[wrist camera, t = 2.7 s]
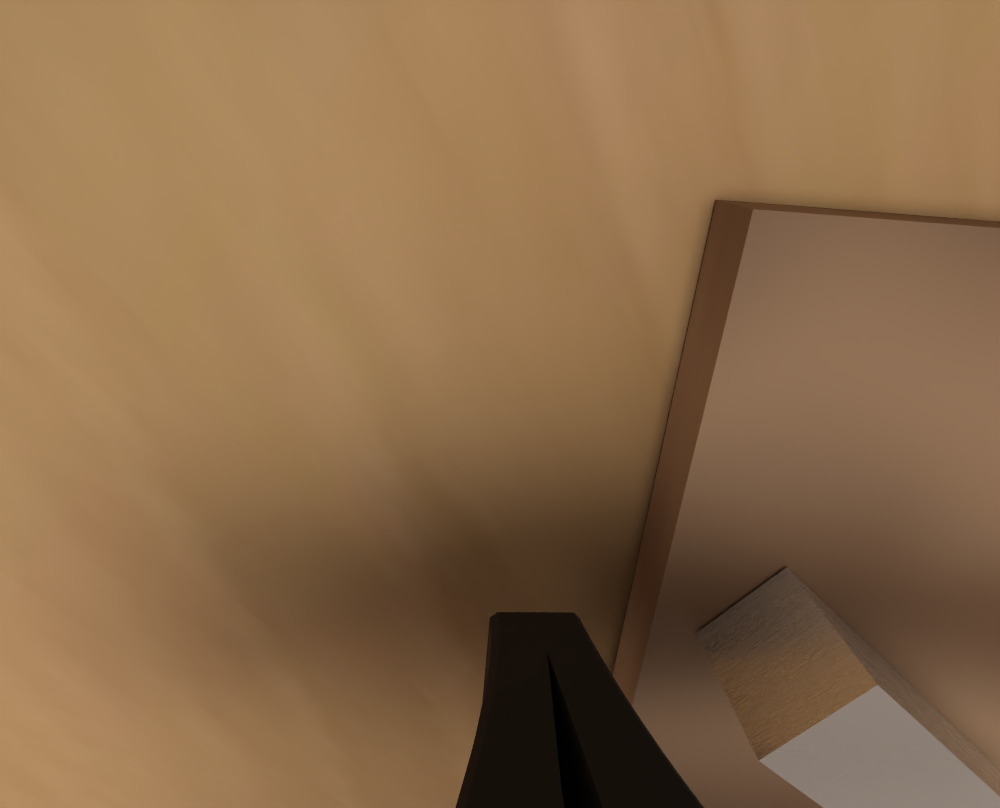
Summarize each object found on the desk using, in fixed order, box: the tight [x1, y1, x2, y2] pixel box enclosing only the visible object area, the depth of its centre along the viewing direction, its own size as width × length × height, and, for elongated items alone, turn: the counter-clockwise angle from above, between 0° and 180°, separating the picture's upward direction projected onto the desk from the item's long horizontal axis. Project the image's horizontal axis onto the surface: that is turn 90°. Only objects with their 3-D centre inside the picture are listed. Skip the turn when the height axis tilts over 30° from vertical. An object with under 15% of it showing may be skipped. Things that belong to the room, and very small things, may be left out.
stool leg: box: [697, 567, 1000, 808], centre depth 11 cm, size 9×2×3 cm, turn 46°
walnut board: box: [612, 200, 1000, 808], centre depth 11 cm, size 15×10×3 cm, turn 176°
